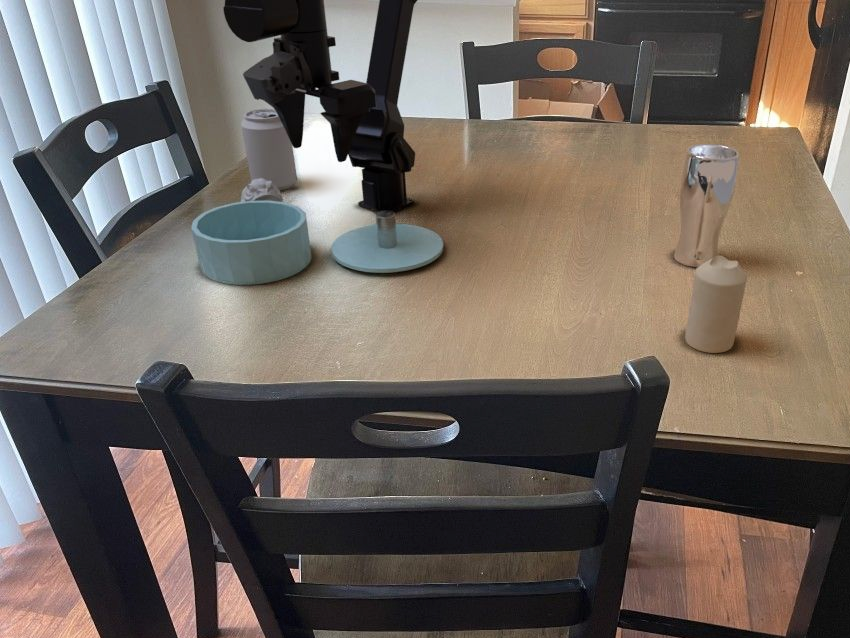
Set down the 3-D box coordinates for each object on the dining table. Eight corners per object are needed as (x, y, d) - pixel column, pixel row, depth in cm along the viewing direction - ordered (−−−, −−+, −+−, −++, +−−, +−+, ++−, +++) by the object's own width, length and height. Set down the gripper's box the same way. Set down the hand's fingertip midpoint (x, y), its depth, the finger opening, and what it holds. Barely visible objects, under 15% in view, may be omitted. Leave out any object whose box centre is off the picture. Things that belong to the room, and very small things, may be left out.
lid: (387, 223, 116) (384, 186, 113) (465, 248, 109) (465, 210, 105) (308, 256, 106) (303, 217, 103) (389, 287, 98) (386, 246, 95)
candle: (679, 330, 90) (691, 251, 85) (724, 328, 91) (739, 250, 85) (692, 354, 86) (706, 273, 80) (740, 352, 86) (757, 271, 80)
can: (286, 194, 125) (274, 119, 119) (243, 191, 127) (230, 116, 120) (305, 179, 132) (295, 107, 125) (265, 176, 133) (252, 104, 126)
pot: (265, 231, 113) (258, 192, 109) (334, 257, 106) (328, 216, 102) (178, 264, 103) (168, 223, 100) (247, 295, 96) (239, 252, 93)
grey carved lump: (251, 235, 111) (242, 188, 108) (239, 219, 116) (230, 174, 113) (292, 227, 114) (285, 181, 110) (279, 212, 119) (271, 167, 115)
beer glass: (724, 252, 109) (743, 146, 100) (718, 272, 103) (738, 162, 95) (675, 245, 111) (689, 140, 102) (666, 264, 105) (681, 156, 97)
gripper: (202, 28, 95) (226, 154, 103) (299, 48, 85) (317, 185, 94) (276, 17, 102) (293, 136, 111) (373, 35, 92) (383, 163, 101)
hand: (319, 154), depth 104 cm, fingers open, 9 cm apart
